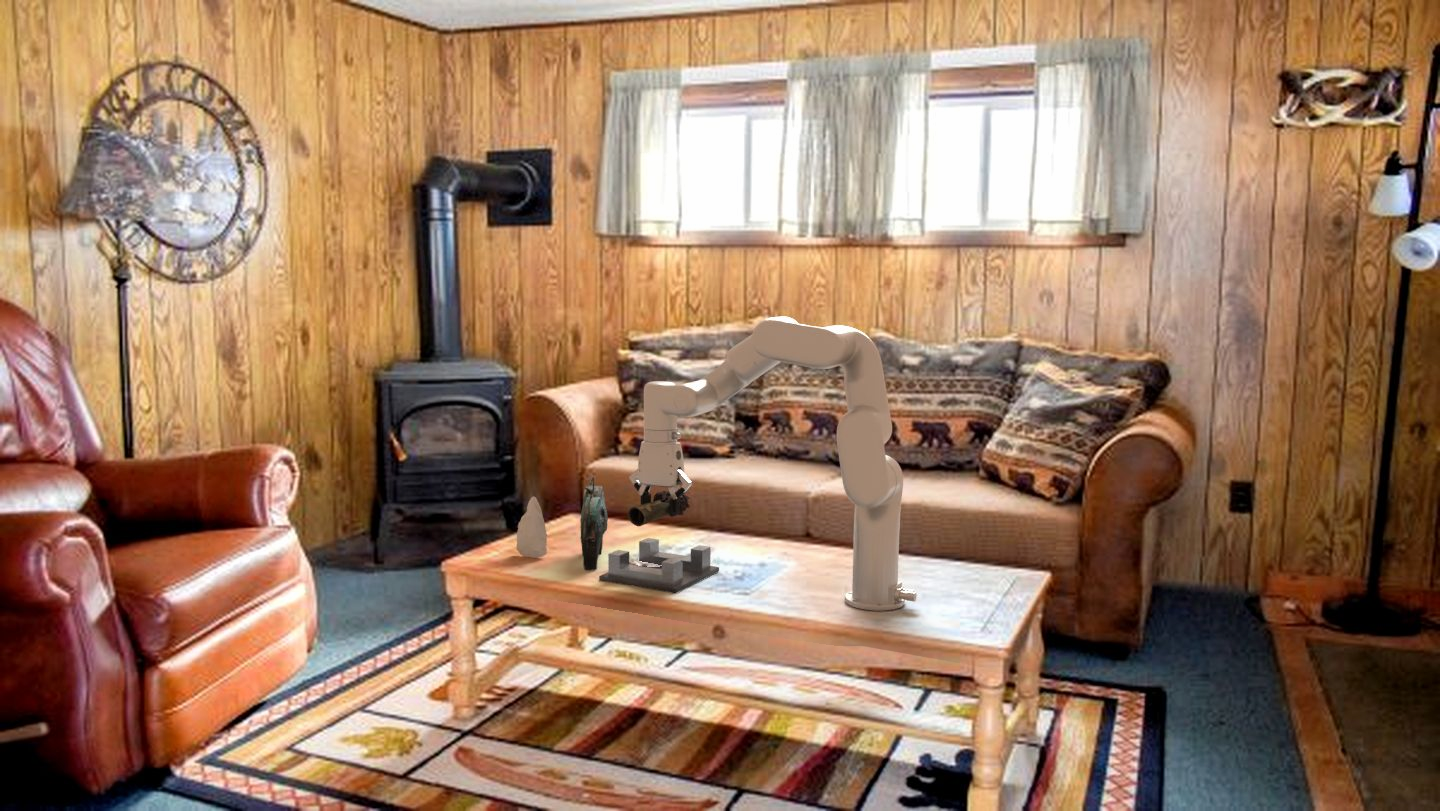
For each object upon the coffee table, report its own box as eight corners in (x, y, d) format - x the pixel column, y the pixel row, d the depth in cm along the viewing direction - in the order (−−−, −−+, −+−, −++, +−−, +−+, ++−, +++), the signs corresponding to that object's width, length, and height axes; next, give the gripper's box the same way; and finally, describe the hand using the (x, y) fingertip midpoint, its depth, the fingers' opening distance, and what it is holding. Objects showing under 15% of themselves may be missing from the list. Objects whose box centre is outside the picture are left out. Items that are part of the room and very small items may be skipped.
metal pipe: (644, 528, 239) (644, 502, 238) (621, 524, 243) (621, 499, 242) (693, 513, 253) (693, 489, 252) (670, 510, 257) (670, 486, 256)
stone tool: (550, 556, 265) (549, 496, 264) (543, 559, 263) (543, 498, 261) (519, 553, 268) (518, 493, 266) (512, 556, 265) (511, 495, 264)
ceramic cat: (584, 549, 273) (583, 471, 270) (610, 549, 273) (609, 471, 270) (576, 571, 253) (576, 486, 250) (604, 571, 253) (604, 486, 251)
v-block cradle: (719, 571, 254) (719, 546, 253) (675, 593, 236) (675, 566, 235) (646, 560, 263) (646, 535, 262) (599, 580, 245) (599, 554, 245)
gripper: (702, 437, 245) (701, 514, 247) (636, 431, 253) (636, 506, 255) (685, 441, 238) (685, 521, 240) (618, 435, 246) (619, 512, 249)
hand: (660, 513), depth 248 cm, fingers closed on metal pipe, 6 cm apart
